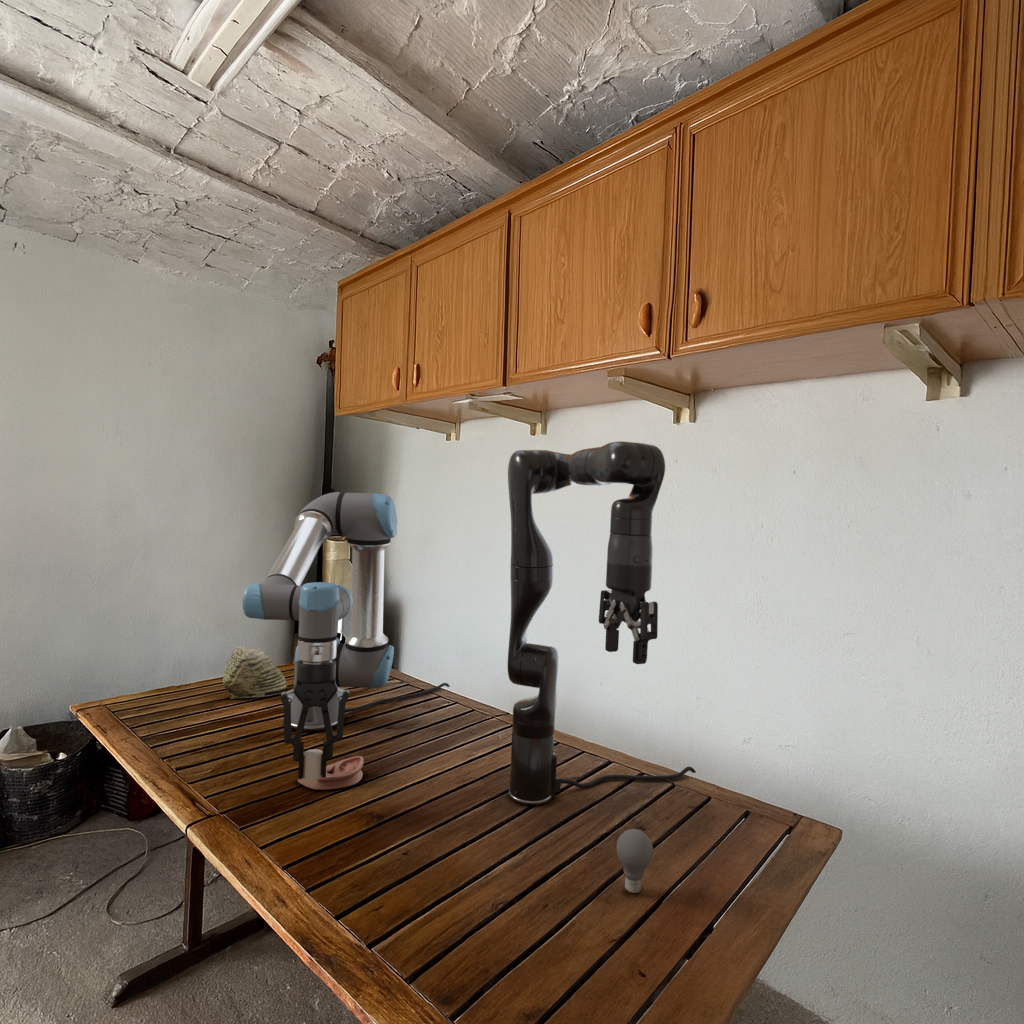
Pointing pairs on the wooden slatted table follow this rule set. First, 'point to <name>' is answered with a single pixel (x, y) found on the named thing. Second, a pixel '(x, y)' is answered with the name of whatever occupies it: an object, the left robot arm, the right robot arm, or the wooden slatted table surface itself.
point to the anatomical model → (338, 775)
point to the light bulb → (634, 857)
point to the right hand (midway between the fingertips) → (624, 657)
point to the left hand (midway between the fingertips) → (312, 775)
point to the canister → (312, 764)
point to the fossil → (252, 674)
